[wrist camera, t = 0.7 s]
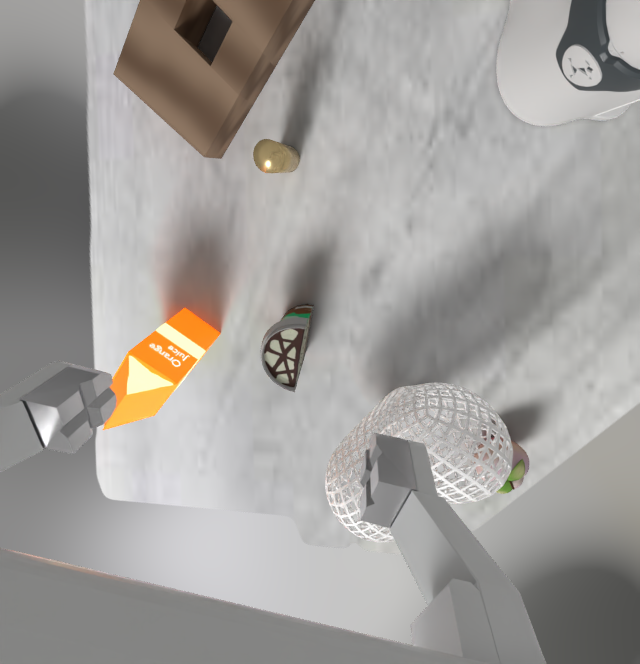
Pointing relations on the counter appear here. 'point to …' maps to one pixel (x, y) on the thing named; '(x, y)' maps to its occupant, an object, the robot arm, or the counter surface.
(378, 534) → the heart
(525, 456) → the decorative fruit
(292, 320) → the food container
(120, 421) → the orange juice
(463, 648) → the robot arm
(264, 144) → the peg
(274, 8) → the hole block
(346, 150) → the counter surface
